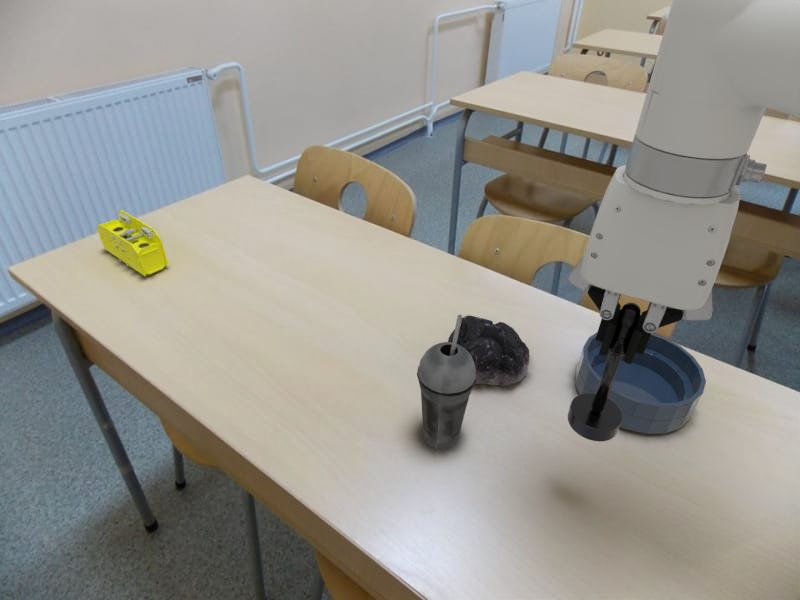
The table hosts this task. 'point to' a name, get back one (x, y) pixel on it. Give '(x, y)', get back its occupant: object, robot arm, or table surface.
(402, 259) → the table surface
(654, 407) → the bowl
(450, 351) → the beverage cup
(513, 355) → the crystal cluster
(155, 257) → the yellow toy chassis
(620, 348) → the disc-capped black rod
